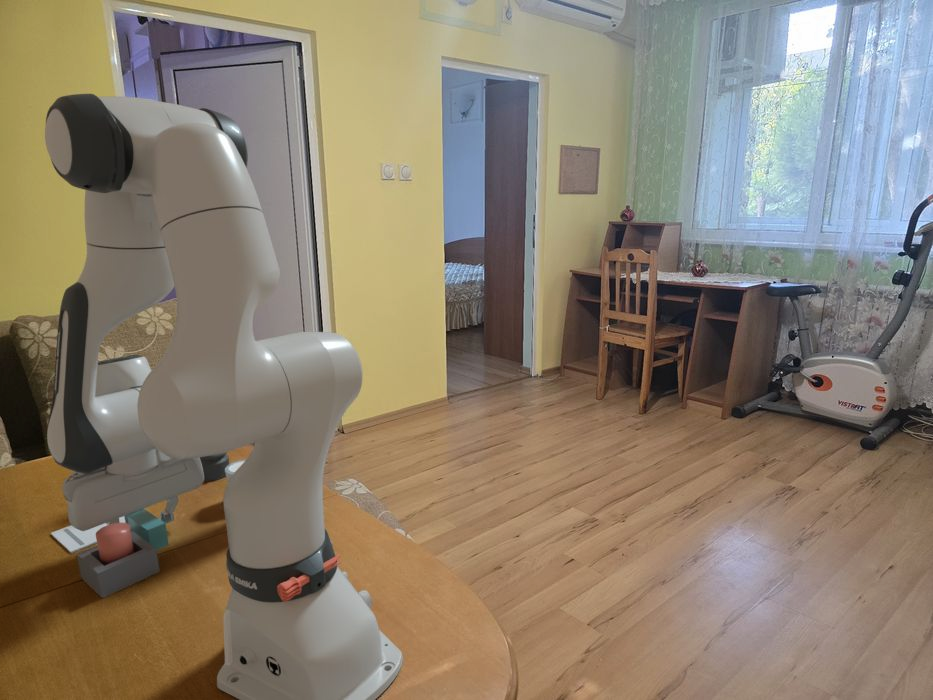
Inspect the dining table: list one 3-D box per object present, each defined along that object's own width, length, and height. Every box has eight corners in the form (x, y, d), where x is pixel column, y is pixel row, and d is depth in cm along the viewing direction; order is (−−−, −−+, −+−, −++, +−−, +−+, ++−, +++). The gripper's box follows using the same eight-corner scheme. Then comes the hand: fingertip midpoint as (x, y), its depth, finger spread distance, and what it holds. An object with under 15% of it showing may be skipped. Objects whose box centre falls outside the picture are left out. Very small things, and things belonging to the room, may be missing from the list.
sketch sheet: (141, 525, 105) (141, 523, 105) (71, 553, 96) (70, 551, 96) (119, 509, 110) (119, 507, 110) (50, 534, 102) (50, 532, 102)
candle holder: (216, 482, 120) (200, 363, 115) (191, 478, 122) (175, 360, 117) (236, 470, 126) (223, 355, 120) (213, 466, 128) (198, 353, 122)
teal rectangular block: (168, 545, 98) (165, 523, 97) (151, 552, 96) (147, 530, 95) (144, 527, 104) (141, 506, 103) (127, 534, 102) (123, 513, 101)
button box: (159, 571, 91) (155, 548, 90) (102, 598, 85) (97, 573, 84) (136, 553, 96) (133, 531, 95) (81, 577, 90) (76, 554, 89)
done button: (139, 558, 90) (134, 528, 89) (108, 572, 87) (102, 541, 86) (127, 548, 93) (122, 519, 92) (96, 561, 89) (90, 531, 88)
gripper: (67, 481, 87) (84, 566, 90) (203, 438, 102) (213, 512, 105) (52, 470, 90) (68, 552, 94) (185, 430, 106) (195, 501, 109)
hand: (146, 530), depth 100 cm, fingers open, 6 cm apart
